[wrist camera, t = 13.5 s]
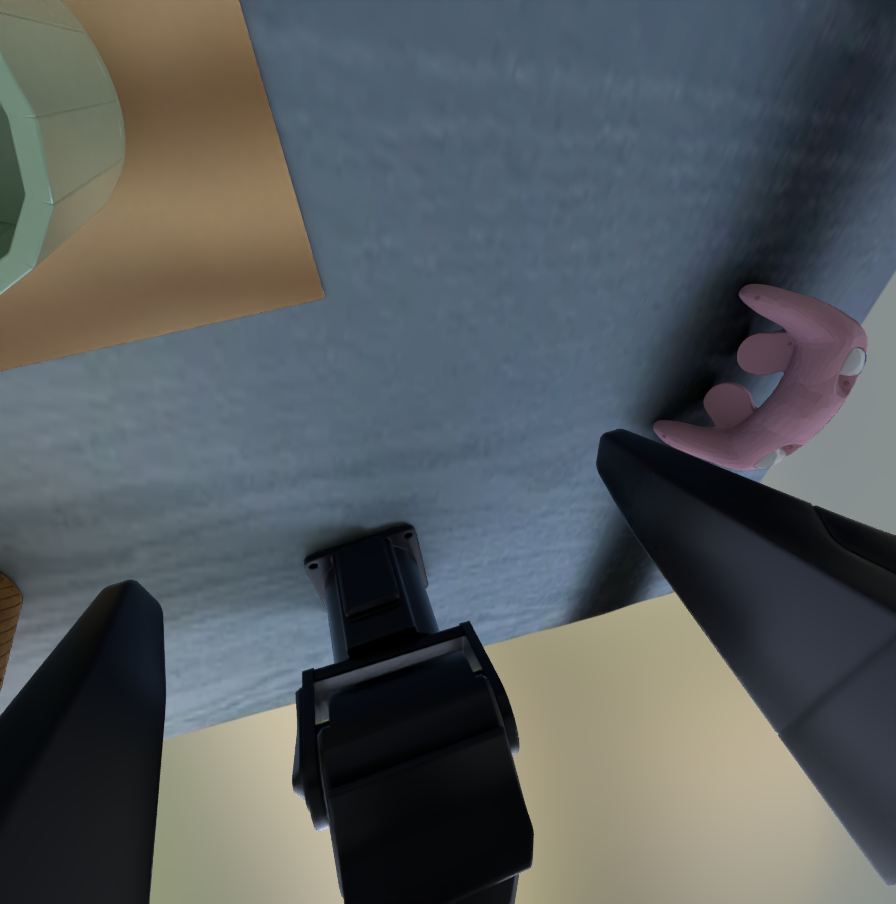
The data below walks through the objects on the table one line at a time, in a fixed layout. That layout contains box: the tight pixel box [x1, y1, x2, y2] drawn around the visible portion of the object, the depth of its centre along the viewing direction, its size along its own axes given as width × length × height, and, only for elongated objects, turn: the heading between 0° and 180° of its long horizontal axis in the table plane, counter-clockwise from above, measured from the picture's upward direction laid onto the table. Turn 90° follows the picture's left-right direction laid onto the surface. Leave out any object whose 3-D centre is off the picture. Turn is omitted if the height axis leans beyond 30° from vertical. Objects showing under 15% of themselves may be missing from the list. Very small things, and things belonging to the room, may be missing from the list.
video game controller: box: [653, 284, 867, 470], centre depth 25 cm, size 10×5×7 cm, turn 163°
